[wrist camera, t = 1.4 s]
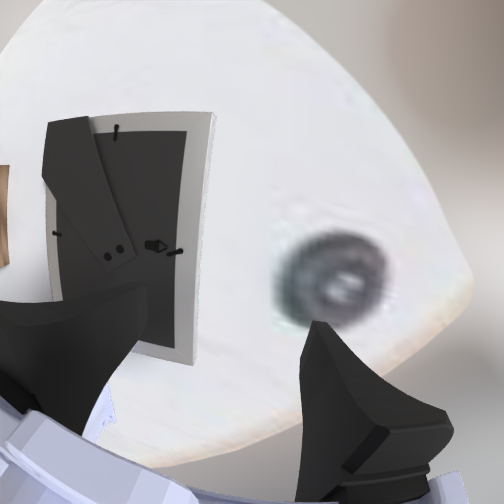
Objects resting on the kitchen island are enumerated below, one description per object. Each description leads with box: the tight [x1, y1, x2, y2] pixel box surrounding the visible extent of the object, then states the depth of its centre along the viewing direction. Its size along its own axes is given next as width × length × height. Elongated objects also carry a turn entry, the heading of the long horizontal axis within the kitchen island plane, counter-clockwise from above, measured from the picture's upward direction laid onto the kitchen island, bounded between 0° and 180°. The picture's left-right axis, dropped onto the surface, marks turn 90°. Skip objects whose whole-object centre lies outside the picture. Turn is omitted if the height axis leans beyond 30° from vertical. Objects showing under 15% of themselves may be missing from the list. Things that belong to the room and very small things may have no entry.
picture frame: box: [42, 112, 217, 366], centre depth 21 cm, size 16×3×21 cm
